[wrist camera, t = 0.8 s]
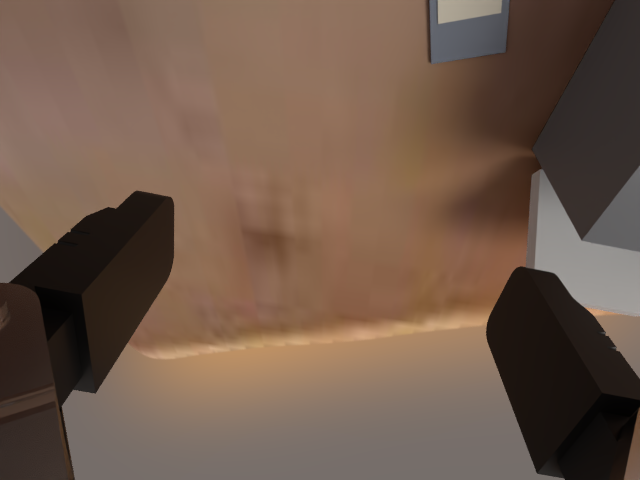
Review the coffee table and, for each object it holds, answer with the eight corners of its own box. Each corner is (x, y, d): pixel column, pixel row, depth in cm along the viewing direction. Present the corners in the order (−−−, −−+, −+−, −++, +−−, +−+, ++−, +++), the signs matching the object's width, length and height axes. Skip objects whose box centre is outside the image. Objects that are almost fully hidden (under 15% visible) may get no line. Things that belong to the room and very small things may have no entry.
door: (540, 168, 27) (533, 293, 25) (647, 190, 27) (647, 315, 25) (528, 177, 28) (520, 296, 26) (629, 197, 28) (629, 316, 26)
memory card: (427, -40, 22) (429, -37, 21) (510, -58, 21) (514, -55, 20) (430, 59, 25) (431, 64, 24) (502, 47, 24) (505, 52, 23)
